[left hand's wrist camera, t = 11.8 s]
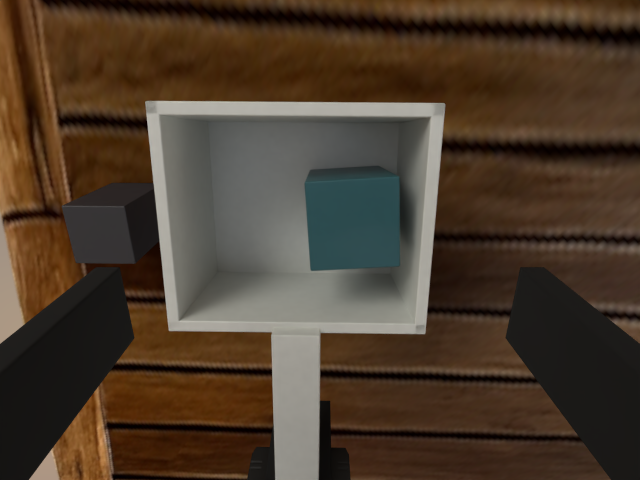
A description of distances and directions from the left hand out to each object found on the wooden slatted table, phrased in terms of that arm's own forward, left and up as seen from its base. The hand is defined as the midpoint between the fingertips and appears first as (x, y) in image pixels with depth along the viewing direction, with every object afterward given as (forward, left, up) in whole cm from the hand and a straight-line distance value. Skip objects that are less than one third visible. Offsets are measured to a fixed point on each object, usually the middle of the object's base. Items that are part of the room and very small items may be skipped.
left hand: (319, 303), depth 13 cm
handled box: (+1, +7, -13) cm, 15 cm away
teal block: (-2, 0, -13) cm, 14 cm away
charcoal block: (+16, +3, -22) cm, 28 cm away
